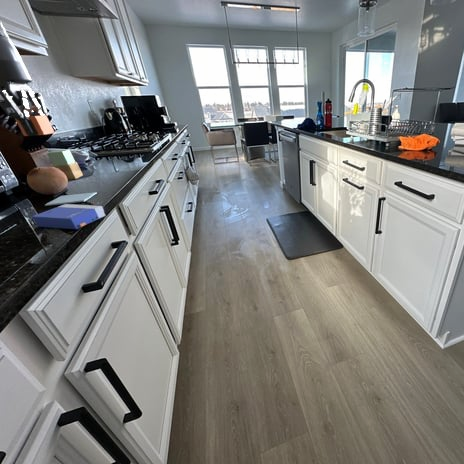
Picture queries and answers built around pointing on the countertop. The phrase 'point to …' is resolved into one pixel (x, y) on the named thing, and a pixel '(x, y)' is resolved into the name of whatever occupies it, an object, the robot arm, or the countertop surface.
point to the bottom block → (70, 170)
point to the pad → (71, 198)
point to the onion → (47, 180)
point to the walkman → (69, 216)
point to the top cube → (39, 125)
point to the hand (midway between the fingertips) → (39, 133)
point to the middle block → (61, 157)
